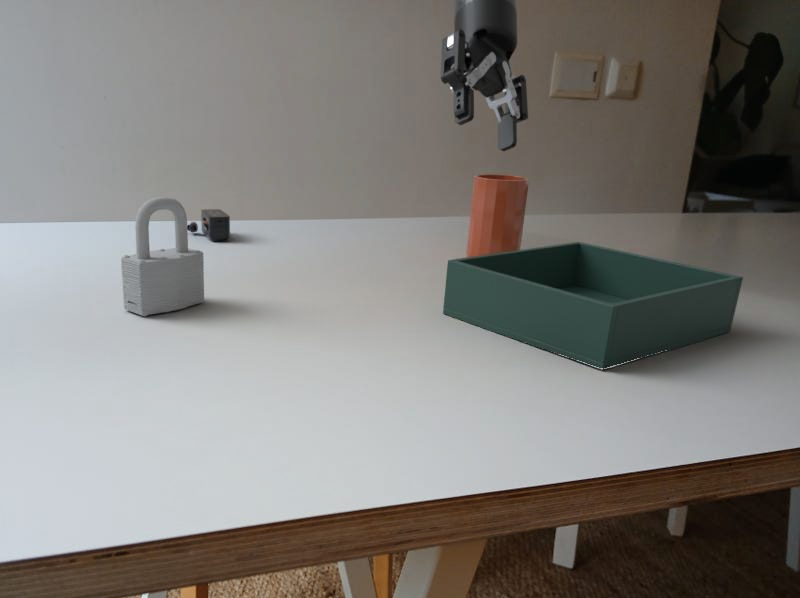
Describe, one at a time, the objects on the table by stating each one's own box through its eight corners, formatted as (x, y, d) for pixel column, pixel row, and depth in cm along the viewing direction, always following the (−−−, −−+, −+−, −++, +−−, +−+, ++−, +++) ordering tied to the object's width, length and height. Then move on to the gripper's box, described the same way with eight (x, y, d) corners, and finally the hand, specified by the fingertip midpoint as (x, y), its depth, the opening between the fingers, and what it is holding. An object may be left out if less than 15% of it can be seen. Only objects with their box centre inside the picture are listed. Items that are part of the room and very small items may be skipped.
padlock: (182, 295, 72) (179, 191, 68) (209, 304, 69) (207, 196, 66) (119, 309, 67) (112, 197, 63) (145, 319, 64) (140, 203, 61)
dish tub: (571, 288, 80) (578, 241, 78) (730, 331, 67) (743, 276, 65) (442, 313, 69) (447, 260, 67) (602, 371, 56) (613, 306, 54)
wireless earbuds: (219, 231, 103) (219, 208, 102) (230, 241, 97) (230, 216, 96) (186, 232, 102) (185, 208, 101) (195, 242, 96) (195, 217, 95)
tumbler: (490, 251, 97) (499, 173, 93) (529, 261, 92) (540, 179, 88) (455, 256, 93) (463, 175, 90) (493, 266, 88) (503, 181, 85)
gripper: (475, -30, 84) (476, 99, 80) (543, 28, 93) (547, 146, 90) (424, 2, 89) (423, 124, 86) (493, 54, 99) (495, 166, 95)
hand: (486, 135), depth 88 cm, fingers open, 8 cm apart
